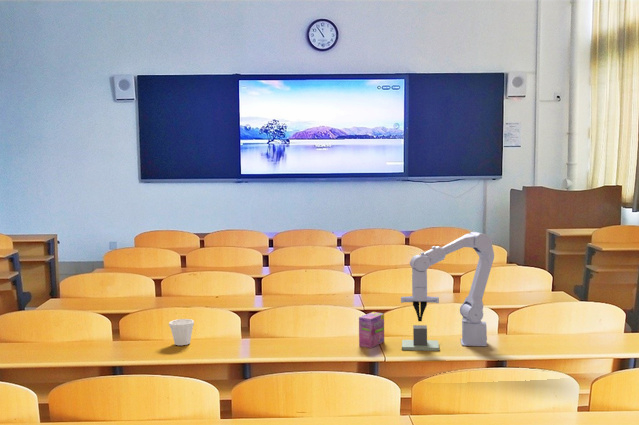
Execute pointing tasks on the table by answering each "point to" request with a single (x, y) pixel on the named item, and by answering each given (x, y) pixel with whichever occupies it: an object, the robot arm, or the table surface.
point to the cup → (181, 331)
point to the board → (431, 346)
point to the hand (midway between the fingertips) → (420, 320)
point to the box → (371, 329)
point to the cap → (420, 335)
